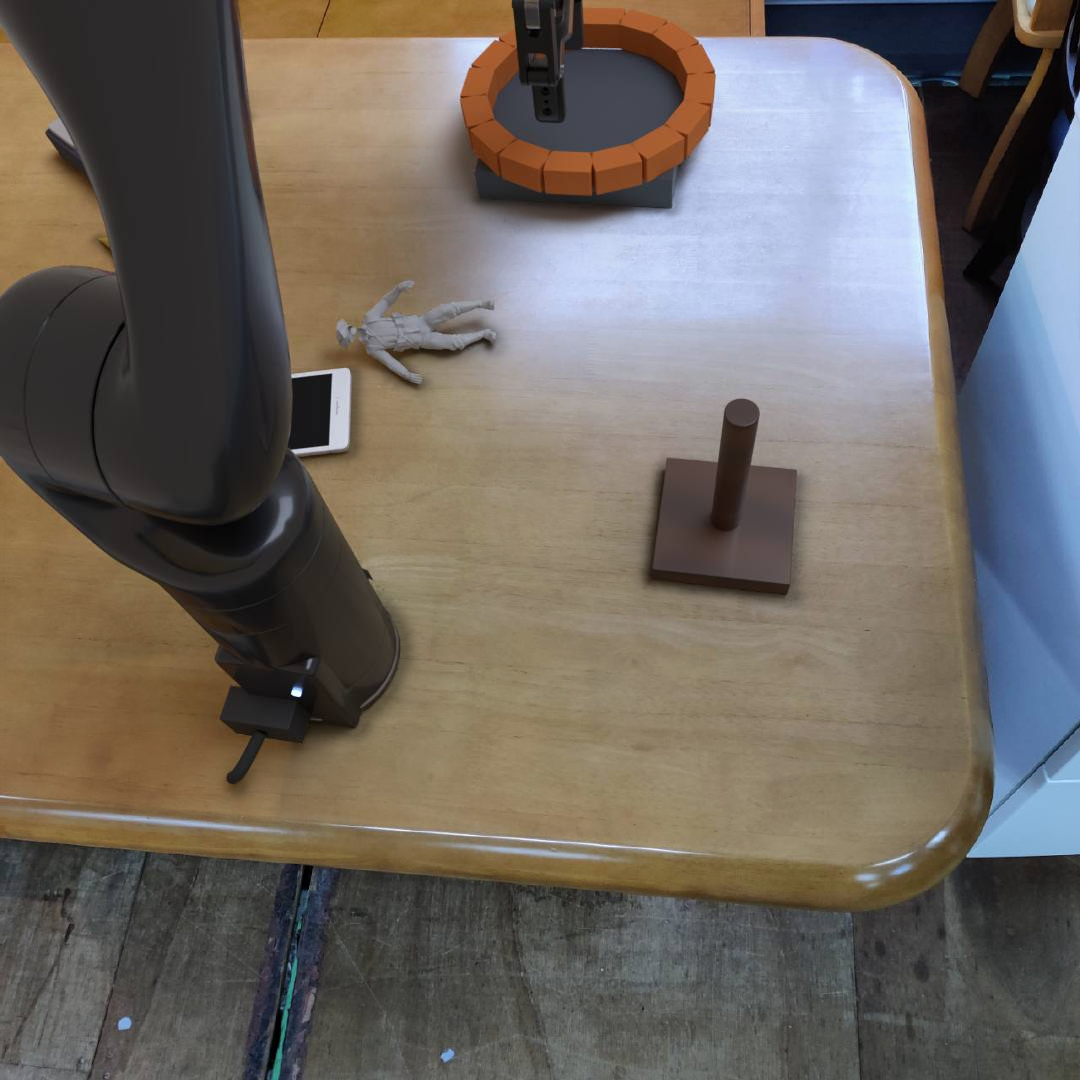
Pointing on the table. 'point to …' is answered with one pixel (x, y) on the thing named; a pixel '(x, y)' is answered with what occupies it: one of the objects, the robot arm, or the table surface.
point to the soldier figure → (410, 330)
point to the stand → (592, 122)
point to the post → (727, 514)
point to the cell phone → (320, 412)
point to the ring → (608, 165)
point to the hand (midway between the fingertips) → (560, 82)
